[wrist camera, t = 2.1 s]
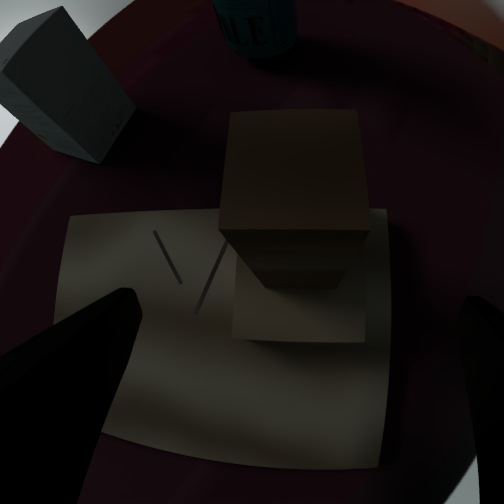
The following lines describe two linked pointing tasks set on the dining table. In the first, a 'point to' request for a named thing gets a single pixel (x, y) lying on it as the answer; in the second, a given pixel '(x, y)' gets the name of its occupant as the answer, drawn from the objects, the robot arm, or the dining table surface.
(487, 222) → the dining table surface
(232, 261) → the board
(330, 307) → the block
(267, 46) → the beverage bottle
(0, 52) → the small box
